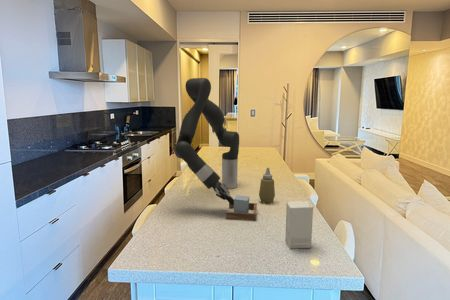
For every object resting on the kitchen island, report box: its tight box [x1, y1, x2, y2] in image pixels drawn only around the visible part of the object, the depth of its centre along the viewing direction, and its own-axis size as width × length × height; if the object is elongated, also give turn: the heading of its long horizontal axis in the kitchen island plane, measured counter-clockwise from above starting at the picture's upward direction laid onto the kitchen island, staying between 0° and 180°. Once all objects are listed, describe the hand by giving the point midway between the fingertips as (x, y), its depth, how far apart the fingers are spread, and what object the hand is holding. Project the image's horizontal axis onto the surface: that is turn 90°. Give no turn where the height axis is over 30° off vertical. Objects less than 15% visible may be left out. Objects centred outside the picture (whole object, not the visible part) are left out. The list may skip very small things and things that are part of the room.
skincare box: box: [285, 200, 314, 249], centre depth 108 cm, size 8×7×16 cm
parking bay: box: [225, 202, 258, 222], centre depth 137 cm, size 14×13×3 cm
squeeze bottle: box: [258, 167, 276, 205], centre depth 152 cm, size 8×8×18 cm
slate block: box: [232, 194, 250, 213], centre depth 136 cm, size 6×6×8 cm
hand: (233, 203), depth 137 cm, fingers closed
